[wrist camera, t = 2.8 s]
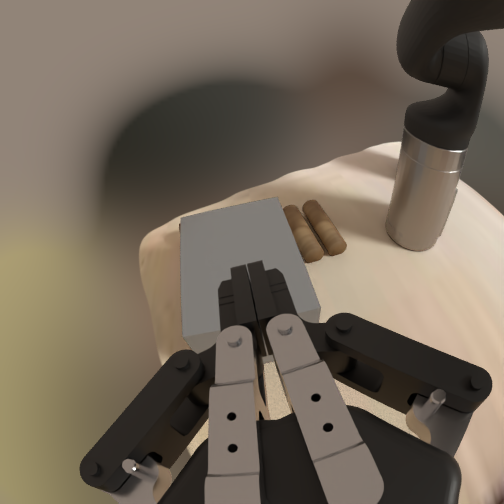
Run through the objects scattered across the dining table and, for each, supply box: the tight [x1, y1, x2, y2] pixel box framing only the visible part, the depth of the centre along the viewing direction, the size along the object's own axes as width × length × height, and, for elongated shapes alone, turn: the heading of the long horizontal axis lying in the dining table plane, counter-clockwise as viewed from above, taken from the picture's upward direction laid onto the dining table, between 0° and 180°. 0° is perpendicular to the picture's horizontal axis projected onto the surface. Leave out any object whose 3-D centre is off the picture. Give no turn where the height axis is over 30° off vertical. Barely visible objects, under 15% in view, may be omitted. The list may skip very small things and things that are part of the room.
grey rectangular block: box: [180, 197, 321, 364], centre depth 33 cm, size 12×16×10 cm
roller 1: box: [283, 205, 324, 263], centre depth 42 cm, size 3×10×3 cm, turn 15°
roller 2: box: [302, 200, 347, 256], centre depth 43 cm, size 3×10×3 cm, turn 15°
